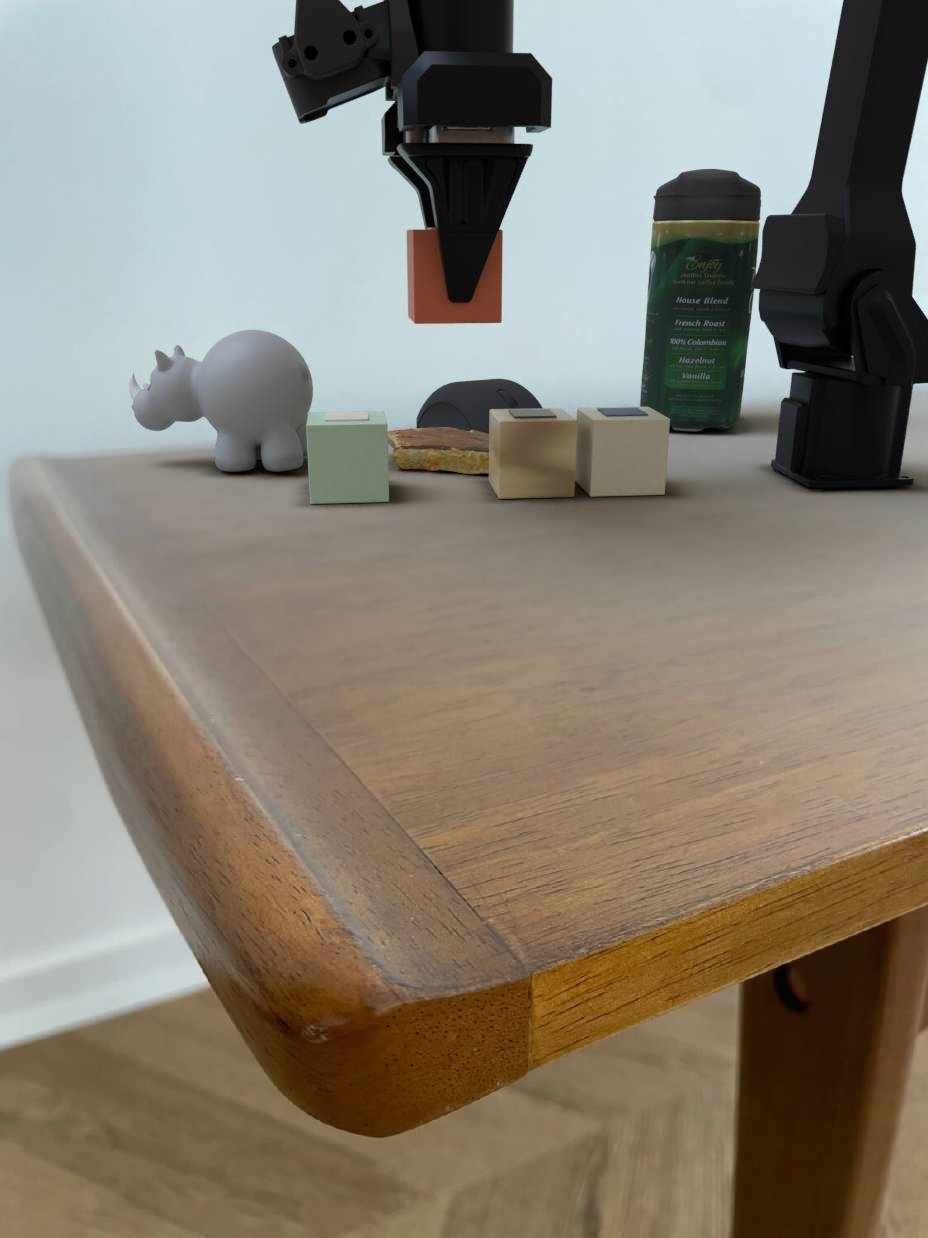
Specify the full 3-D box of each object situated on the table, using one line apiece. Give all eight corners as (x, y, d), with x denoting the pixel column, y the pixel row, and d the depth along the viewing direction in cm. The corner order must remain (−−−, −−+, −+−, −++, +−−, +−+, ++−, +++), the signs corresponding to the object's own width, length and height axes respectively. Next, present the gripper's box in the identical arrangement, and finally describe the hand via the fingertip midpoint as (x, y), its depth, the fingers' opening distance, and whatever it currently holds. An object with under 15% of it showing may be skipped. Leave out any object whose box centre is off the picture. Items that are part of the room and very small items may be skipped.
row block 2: (559, 480, 63) (562, 405, 62) (574, 497, 59) (577, 418, 58) (488, 482, 63) (489, 407, 61) (498, 499, 59) (499, 419, 57)
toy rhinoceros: (161, 451, 72) (148, 323, 69) (330, 456, 70) (324, 325, 67) (114, 473, 65) (97, 333, 62) (299, 479, 63) (291, 336, 60)
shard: (550, 480, 63) (551, 450, 63) (436, 492, 60) (436, 461, 60) (472, 448, 73) (472, 422, 72) (370, 457, 69) (369, 431, 69)
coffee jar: (742, 436, 77) (768, 164, 71) (635, 431, 79) (651, 165, 72) (739, 415, 86) (762, 171, 80) (643, 411, 88) (657, 173, 81)
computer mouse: (484, 451, 72) (485, 392, 70) (409, 426, 81) (408, 374, 79) (559, 442, 75) (561, 386, 73) (478, 419, 84) (479, 369, 82)
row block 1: (386, 484, 62) (384, 408, 61) (389, 502, 58) (387, 421, 57) (312, 486, 62) (308, 410, 60) (310, 504, 58) (305, 422, 56)
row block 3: (644, 478, 64) (648, 404, 62) (665, 495, 60) (670, 416, 58) (574, 479, 63) (577, 405, 62) (590, 496, 59) (593, 418, 58)
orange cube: (489, 316, 56) (489, 227, 55) (501, 323, 52) (502, 227, 51) (408, 317, 56) (406, 227, 54) (414, 323, 52) (412, 227, 50)
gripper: (285, -13, 56) (300, 291, 61) (265, -123, 39) (290, 314, 44) (489, -7, 57) (487, 290, 63) (560, -112, 40) (548, 311, 45)
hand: (454, 299), depth 54 cm, fingers closed on orange cube, 4 cm apart
